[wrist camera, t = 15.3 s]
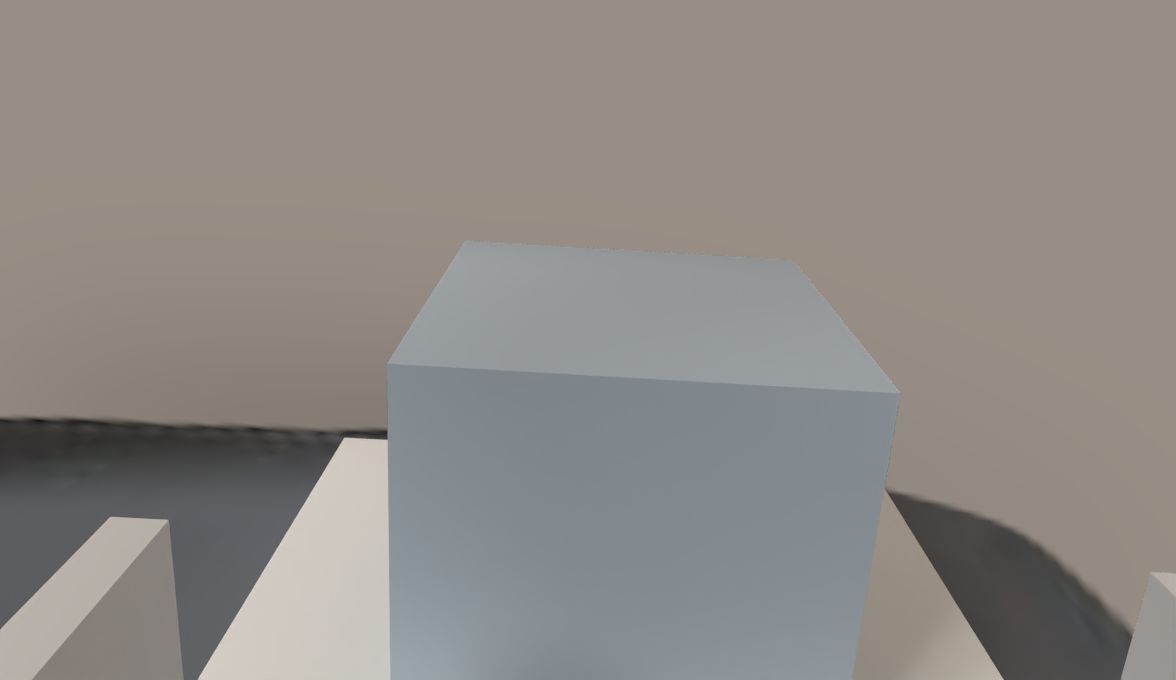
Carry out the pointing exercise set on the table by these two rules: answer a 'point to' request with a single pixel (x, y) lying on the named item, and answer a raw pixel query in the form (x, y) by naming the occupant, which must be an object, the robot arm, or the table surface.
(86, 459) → the table surface
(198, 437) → the table surface
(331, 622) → the socket
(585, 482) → the grey-blue block
